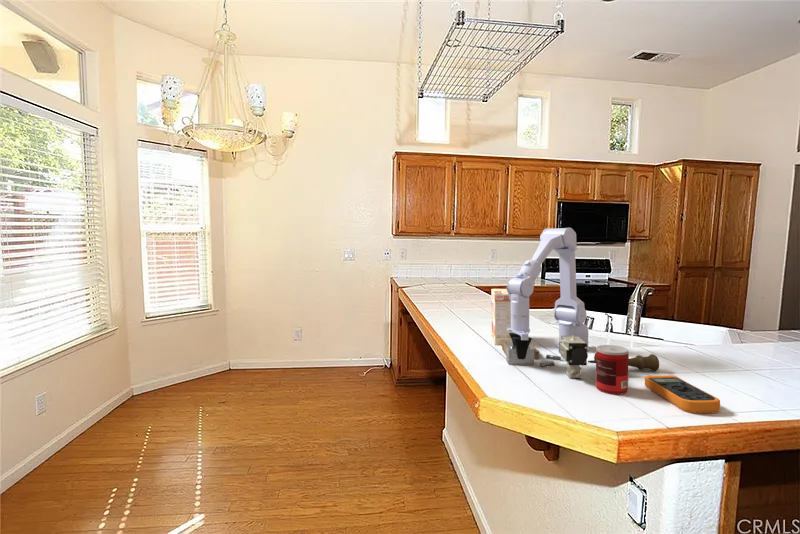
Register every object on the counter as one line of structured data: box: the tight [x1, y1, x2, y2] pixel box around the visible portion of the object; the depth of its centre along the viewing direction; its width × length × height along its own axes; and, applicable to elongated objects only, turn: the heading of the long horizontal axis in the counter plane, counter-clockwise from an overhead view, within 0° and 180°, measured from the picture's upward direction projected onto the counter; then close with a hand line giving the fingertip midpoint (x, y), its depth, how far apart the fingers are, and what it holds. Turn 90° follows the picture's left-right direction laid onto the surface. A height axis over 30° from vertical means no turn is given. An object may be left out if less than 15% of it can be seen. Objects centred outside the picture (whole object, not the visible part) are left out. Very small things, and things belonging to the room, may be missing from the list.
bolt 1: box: [545, 354, 562, 361], centre depth 137 cm, size 4×1×1 cm
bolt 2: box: [539, 360, 555, 368], centre depth 130 cm, size 4×1×1 cm
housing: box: [505, 346, 535, 366], centre depth 134 cm, size 8×4×5 cm, turn 86°
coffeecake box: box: [490, 288, 513, 346], centre depth 162 cm, size 15×7×20 cm, turn 172°
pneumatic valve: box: [558, 335, 589, 379], centre depth 120 cm, size 6×12×12 cm, turn 173°
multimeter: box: [644, 374, 721, 414], centre depth 103 cm, size 9×18×3 cm, turn 179°
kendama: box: [587, 352, 660, 372], centre depth 124 cm, size 6×10×20 cm
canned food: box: [595, 344, 630, 395], centre depth 109 cm, size 8×8×11 cm
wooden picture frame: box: [501, 341, 540, 360], centre depth 144 cm, size 10×12×3 cm
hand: (520, 356), depth 134 cm, fingers closed on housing, 4 cm apart
